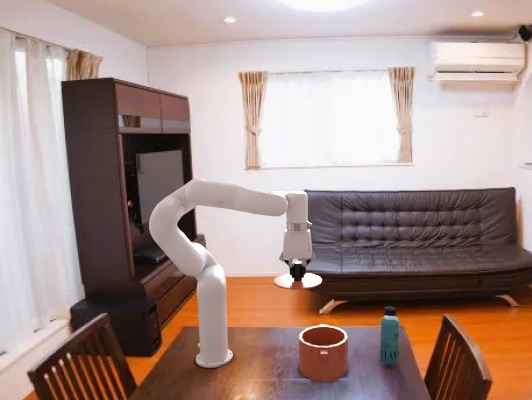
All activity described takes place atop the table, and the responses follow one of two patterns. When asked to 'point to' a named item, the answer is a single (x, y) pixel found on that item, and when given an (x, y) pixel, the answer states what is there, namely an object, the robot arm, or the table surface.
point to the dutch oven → (323, 353)
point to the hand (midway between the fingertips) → (297, 276)
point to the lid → (297, 279)
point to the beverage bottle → (389, 336)
